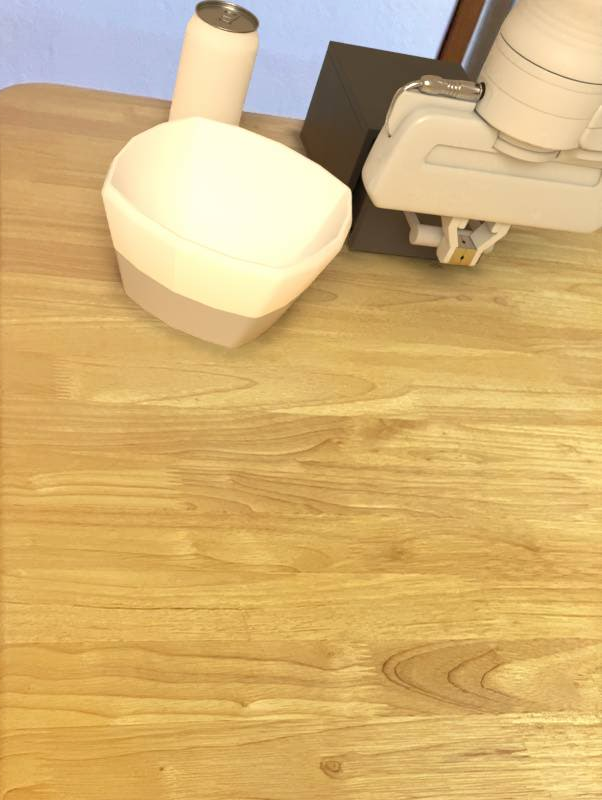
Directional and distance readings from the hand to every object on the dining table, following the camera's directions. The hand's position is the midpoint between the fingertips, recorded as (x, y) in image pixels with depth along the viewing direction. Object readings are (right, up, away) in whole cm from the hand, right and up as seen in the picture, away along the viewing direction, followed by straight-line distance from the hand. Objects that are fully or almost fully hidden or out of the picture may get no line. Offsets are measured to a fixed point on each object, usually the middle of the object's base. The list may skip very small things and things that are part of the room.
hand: (454, 260), depth 73 cm
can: (-21, +14, +12) cm, 28 cm away
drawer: (-2, +6, +9) cm, 11 cm away
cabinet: (-3, +11, +14) cm, 19 cm away
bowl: (-20, -3, -2) cm, 21 cm away
